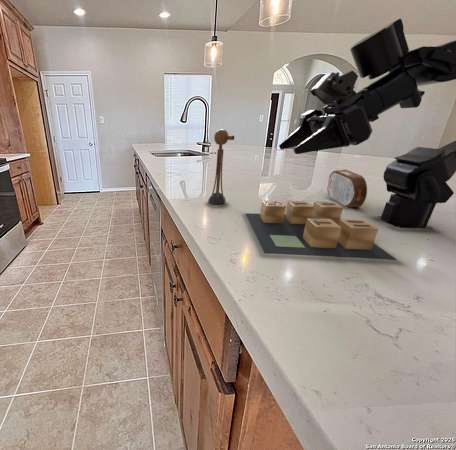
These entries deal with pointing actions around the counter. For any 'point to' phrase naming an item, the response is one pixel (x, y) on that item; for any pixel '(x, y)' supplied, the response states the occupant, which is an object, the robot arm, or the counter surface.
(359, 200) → the tin
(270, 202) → the s tile
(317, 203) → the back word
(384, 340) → the counter surface
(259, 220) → the letter mat
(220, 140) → the wooden tabletop sculpture
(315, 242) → the front word
